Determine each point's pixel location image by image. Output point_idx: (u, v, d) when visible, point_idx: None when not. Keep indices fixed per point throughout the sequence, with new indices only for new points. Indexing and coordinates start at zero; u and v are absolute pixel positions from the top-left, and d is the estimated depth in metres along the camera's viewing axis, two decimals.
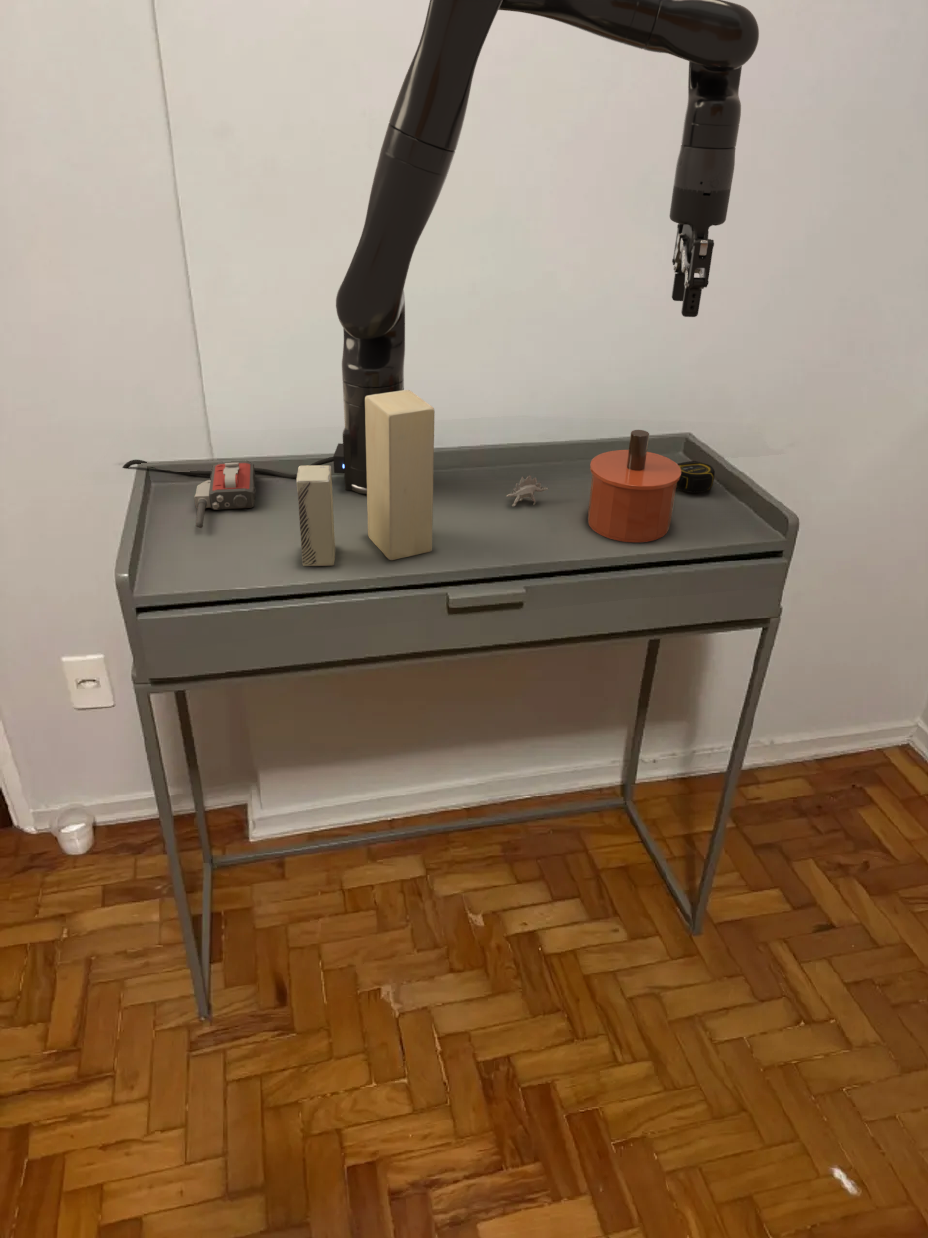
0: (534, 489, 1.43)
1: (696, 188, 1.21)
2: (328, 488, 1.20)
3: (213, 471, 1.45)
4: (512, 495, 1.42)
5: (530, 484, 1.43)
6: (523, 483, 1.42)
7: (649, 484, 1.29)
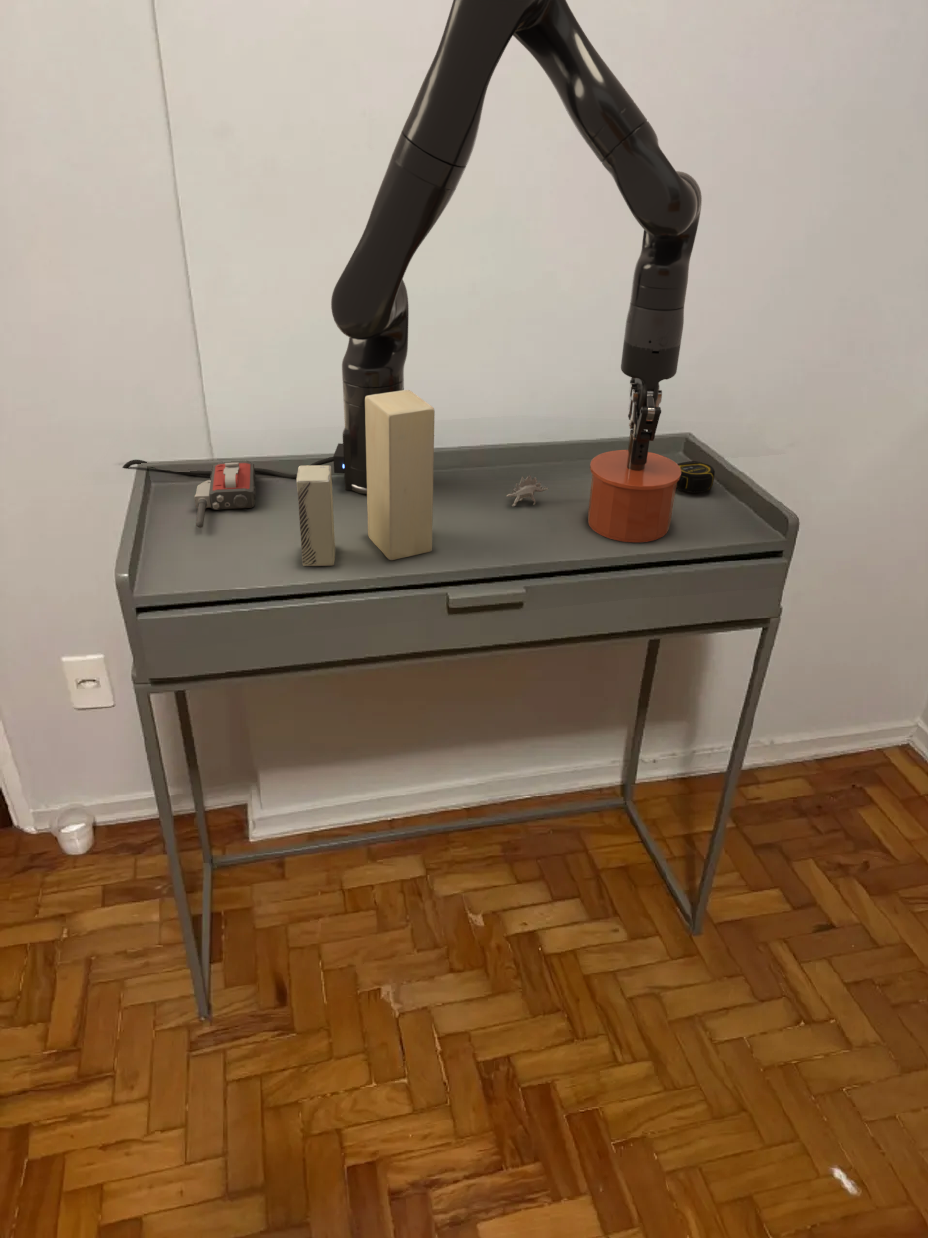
0: (534, 489, 1.43)
1: (645, 346, 1.21)
2: (328, 488, 1.20)
3: (213, 471, 1.45)
4: (512, 495, 1.42)
5: (530, 484, 1.43)
6: (523, 483, 1.42)
7: (649, 484, 1.29)
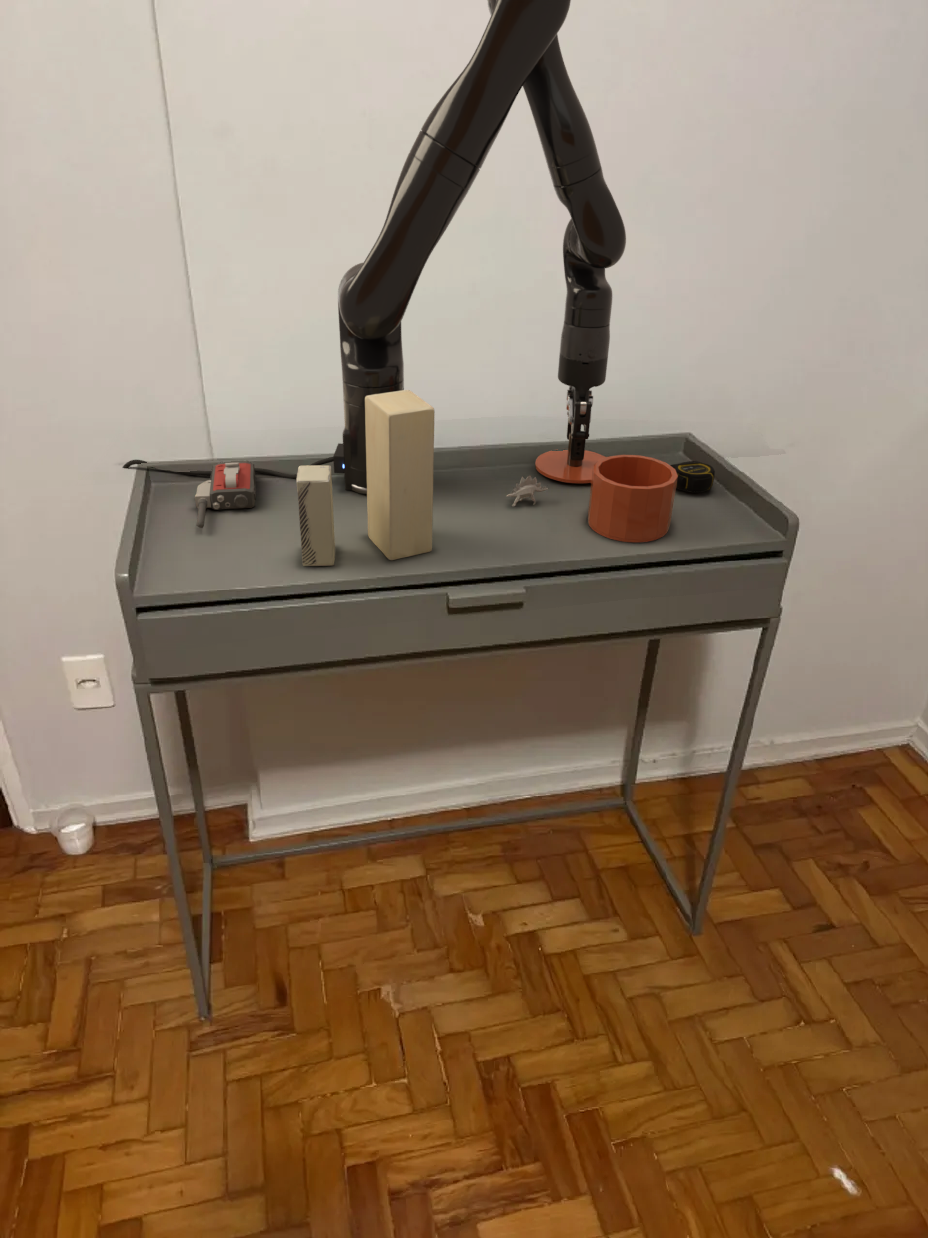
0: (534, 489, 1.43)
1: (576, 358, 1.42)
2: (328, 488, 1.20)
3: (213, 471, 1.45)
4: (512, 495, 1.42)
5: (530, 484, 1.43)
6: (523, 483, 1.42)
7: (584, 478, 1.50)
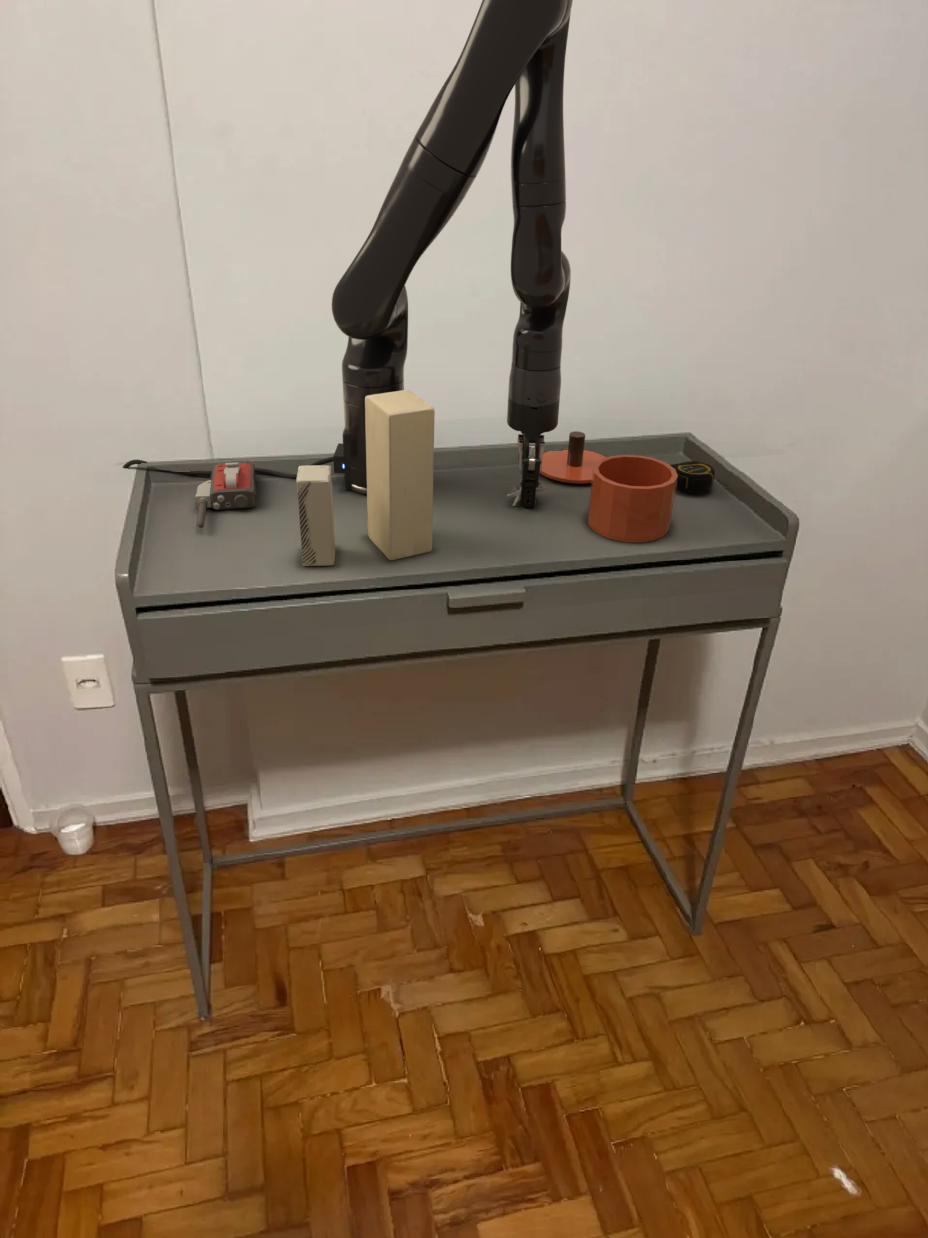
0: None
1: (524, 403, 1.32)
2: (328, 488, 1.20)
3: (213, 471, 1.45)
4: (512, 495, 1.43)
5: None
6: None
7: (584, 478, 1.50)
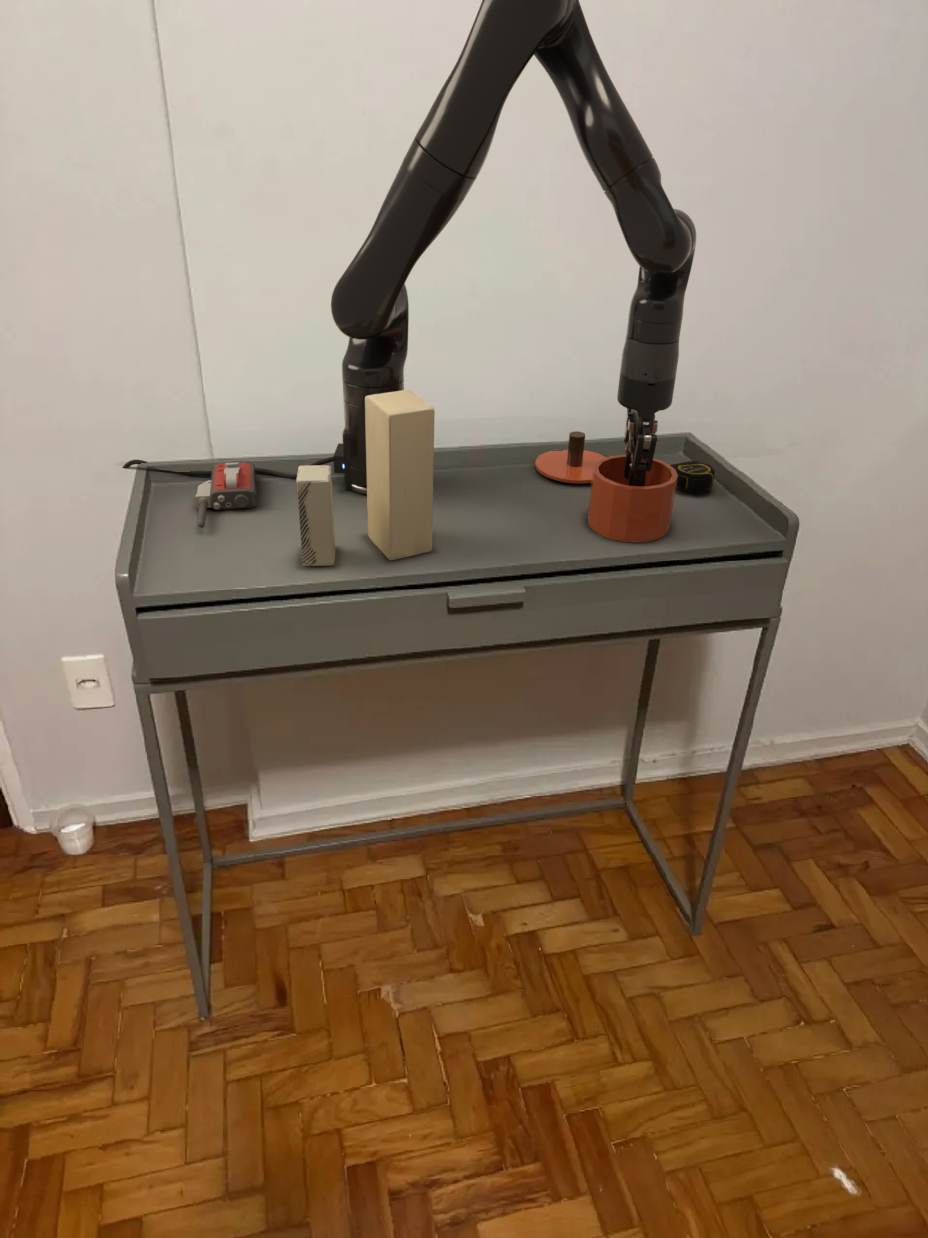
0: None
1: (641, 379, 1.24)
2: (328, 488, 1.20)
3: (214, 471, 1.45)
4: None
5: None
6: None
7: (584, 478, 1.50)
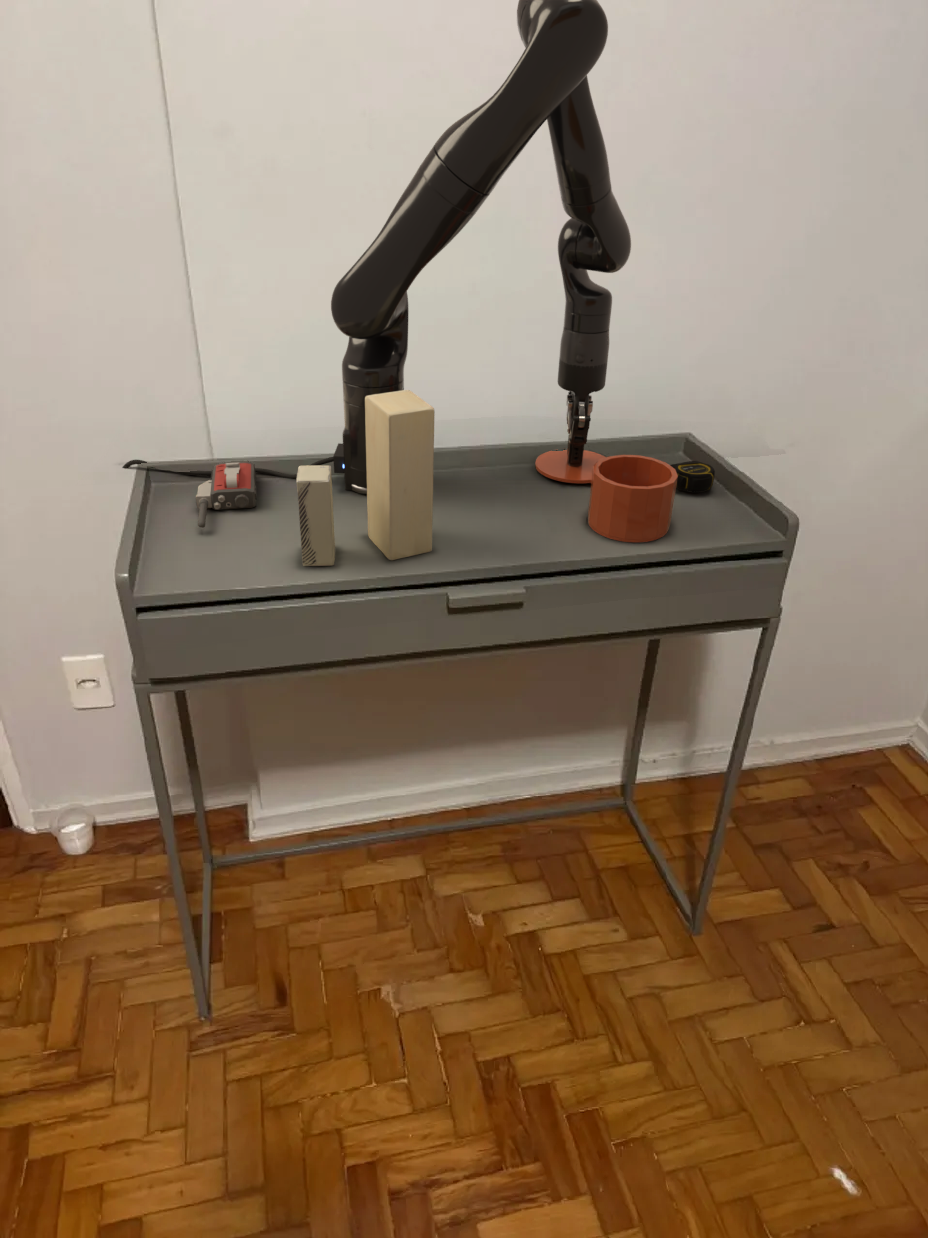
0: None
1: None
2: (328, 488, 1.20)
3: (214, 471, 1.45)
4: None
5: None
6: None
7: (584, 478, 1.50)
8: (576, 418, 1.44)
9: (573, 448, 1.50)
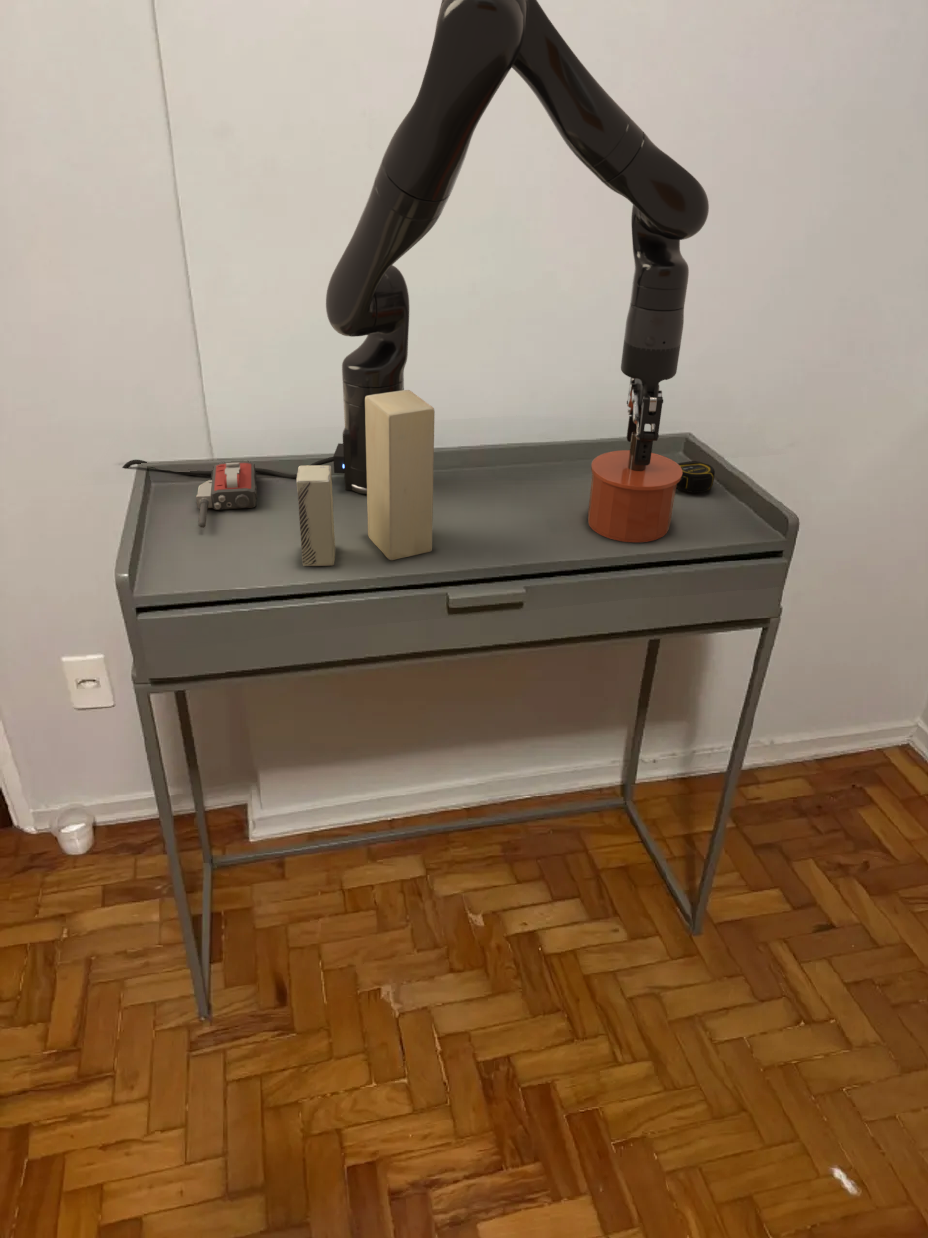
0: None
1: None
2: (328, 488, 1.20)
3: (214, 471, 1.45)
4: None
5: None
6: None
7: (650, 484, 1.29)
8: (646, 397, 1.22)
9: (641, 445, 1.27)
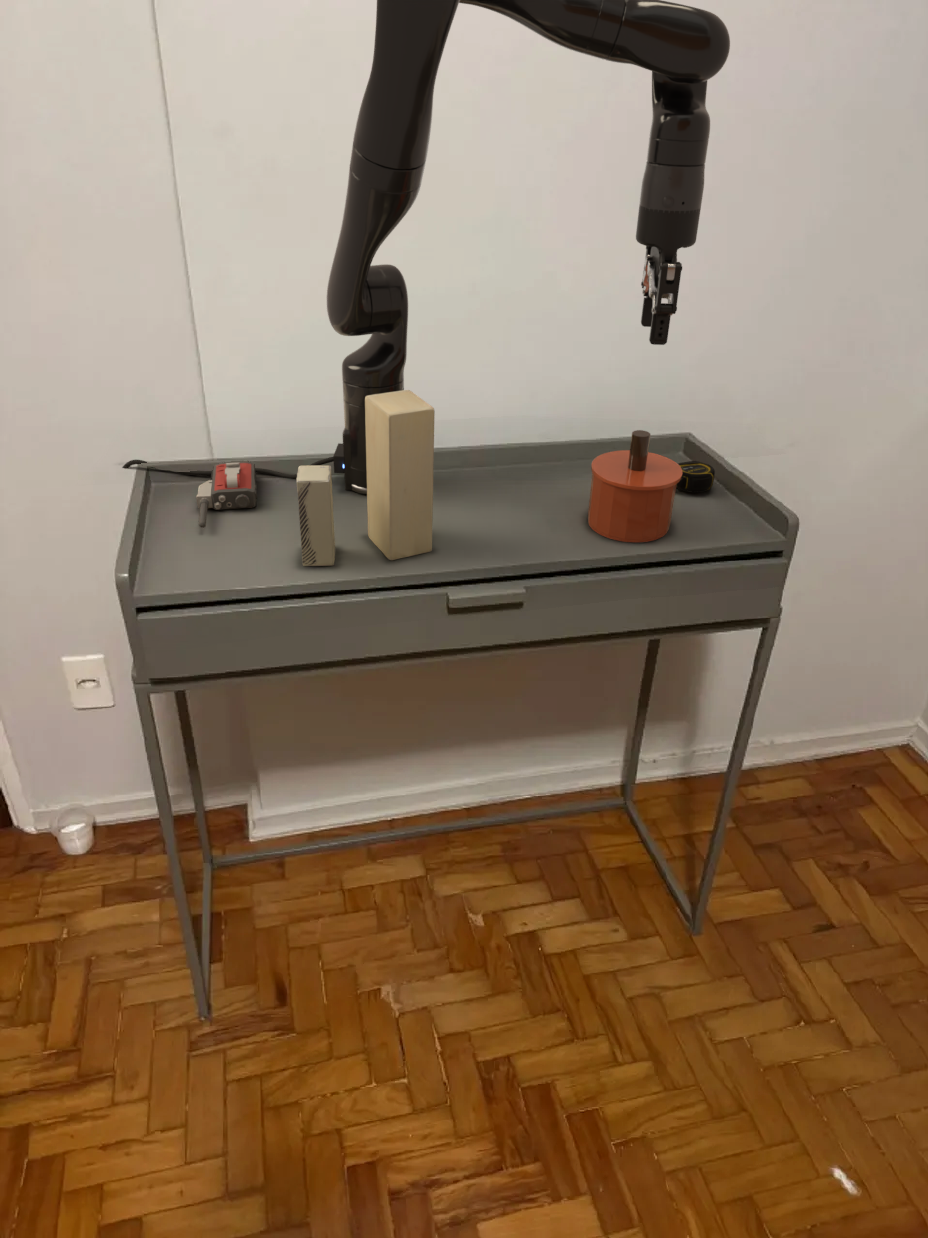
0: None
1: None
2: (328, 488, 1.20)
3: (214, 471, 1.45)
4: None
5: None
6: None
7: (650, 484, 1.29)
8: (664, 264, 1.13)
9: (657, 321, 1.18)
